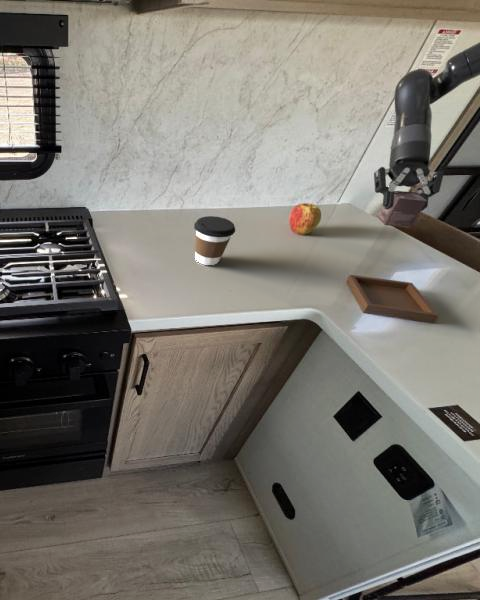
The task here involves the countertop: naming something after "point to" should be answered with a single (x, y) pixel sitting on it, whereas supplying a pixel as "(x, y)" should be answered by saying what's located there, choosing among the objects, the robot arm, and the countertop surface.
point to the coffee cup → (212, 238)
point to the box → (402, 209)
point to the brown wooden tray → (391, 298)
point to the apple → (304, 218)
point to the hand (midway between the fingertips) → (404, 209)
